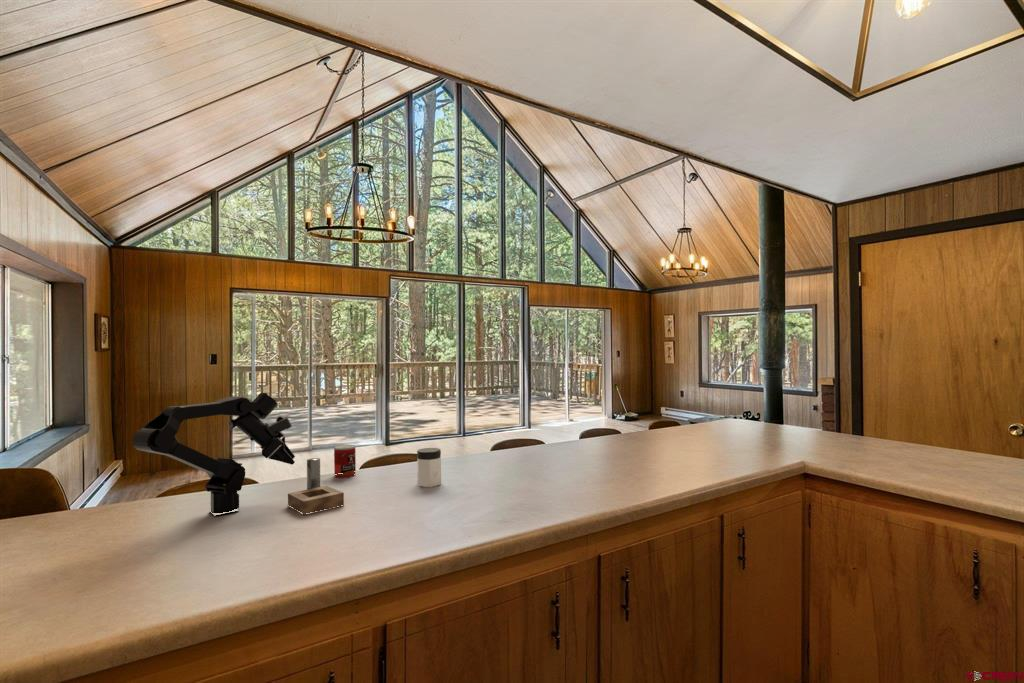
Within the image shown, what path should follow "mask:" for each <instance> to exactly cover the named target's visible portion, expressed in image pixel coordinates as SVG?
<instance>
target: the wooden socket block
mask: <svg viewBox="0 0 1024 683" xmlns="http://www.w3.org/2000/svg"><path fill="white" fill-rule="evenodd" d="M344 493H345V492H343V491H340V490H338V489H336V488H334V487H331V486H328V485H323V486H320V487H317V488H312V489H308V490H307V489H303V490H298V491H294V492H289V493H287V506H288V505H289V506H291V507H293V508H294V509H296V510H298V511H300V512H302V513H303V514H306V513H310V512H315V511H320V510H324V509H329V508H333V507H337V506H341V505H344V506H345V498H344V495H345V494H344ZM337 508H338V507H337ZM333 509H334V508H333ZM329 510H330V509H329Z"/></svg>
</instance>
